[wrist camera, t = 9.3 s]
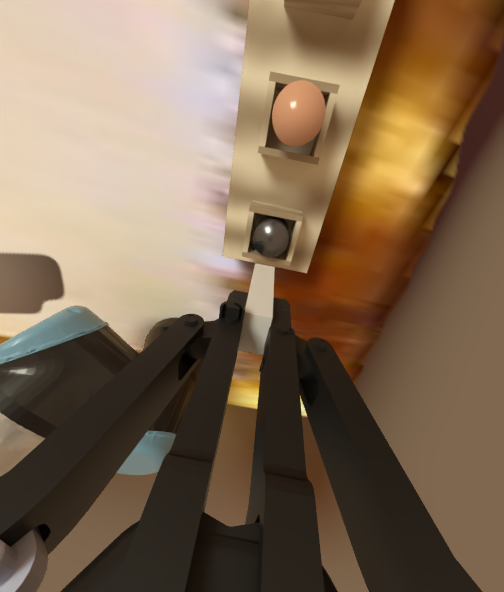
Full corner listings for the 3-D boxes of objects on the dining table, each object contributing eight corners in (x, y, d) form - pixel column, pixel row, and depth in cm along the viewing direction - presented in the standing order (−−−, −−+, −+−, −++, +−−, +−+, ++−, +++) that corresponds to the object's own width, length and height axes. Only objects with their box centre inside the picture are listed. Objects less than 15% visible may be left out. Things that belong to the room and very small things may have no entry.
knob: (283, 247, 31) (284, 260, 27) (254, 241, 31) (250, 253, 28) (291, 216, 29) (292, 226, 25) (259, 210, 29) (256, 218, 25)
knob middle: (310, 151, 23) (316, 150, 19) (269, 143, 23) (267, 140, 19) (323, 98, 21) (333, 86, 17) (279, 89, 21) (278, 75, 17)
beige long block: (303, 257, 38) (309, 285, 30) (230, 242, 38) (216, 266, 30) (402, -71, 21) (475, -208, 13) (271, -96, 21) (265, -247, 13)
